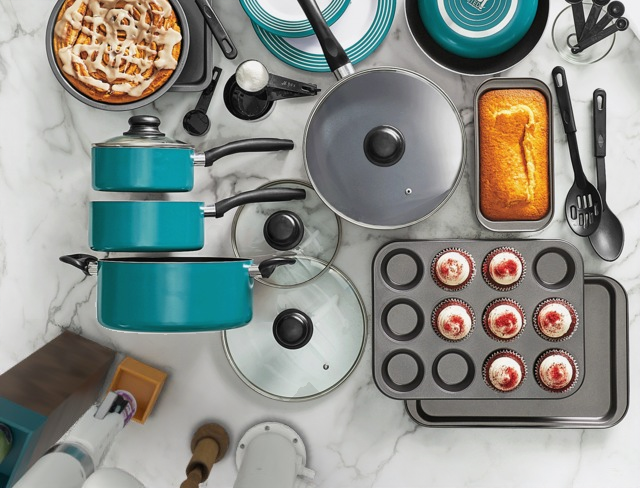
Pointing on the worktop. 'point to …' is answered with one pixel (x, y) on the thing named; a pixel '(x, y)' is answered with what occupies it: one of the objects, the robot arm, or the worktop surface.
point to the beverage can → (5, 441)
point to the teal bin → (19, 440)
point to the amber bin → (138, 385)
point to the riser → (58, 384)
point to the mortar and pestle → (205, 453)
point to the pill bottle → (126, 409)
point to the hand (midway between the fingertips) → (111, 416)
